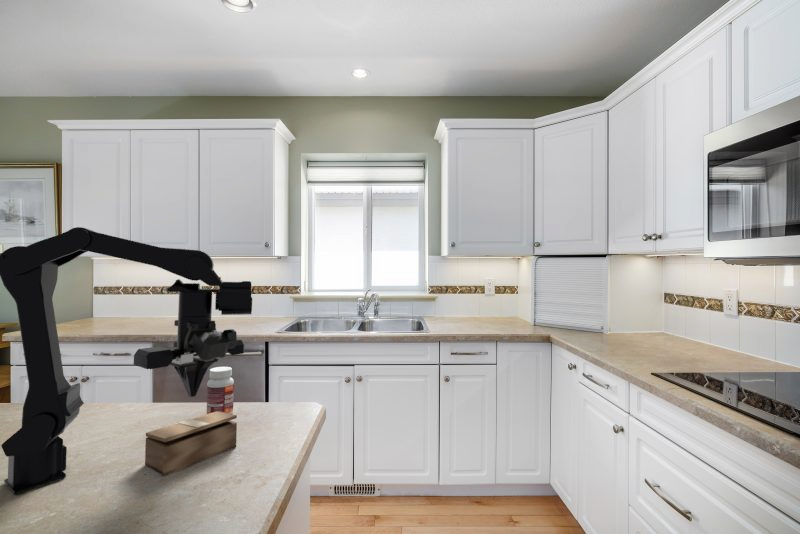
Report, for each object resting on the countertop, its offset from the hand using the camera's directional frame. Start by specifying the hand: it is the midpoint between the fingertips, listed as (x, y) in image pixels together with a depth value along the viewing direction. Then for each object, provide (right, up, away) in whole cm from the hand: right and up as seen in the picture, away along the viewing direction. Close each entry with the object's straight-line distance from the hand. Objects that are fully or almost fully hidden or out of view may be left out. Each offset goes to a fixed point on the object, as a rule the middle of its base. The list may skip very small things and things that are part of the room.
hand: (192, 396), depth 76 cm
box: (0, -12, +1) cm, 12 cm away
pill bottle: (-5, -12, +23) cm, 27 cm away
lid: (0, -6, +1) cm, 6 cm away
